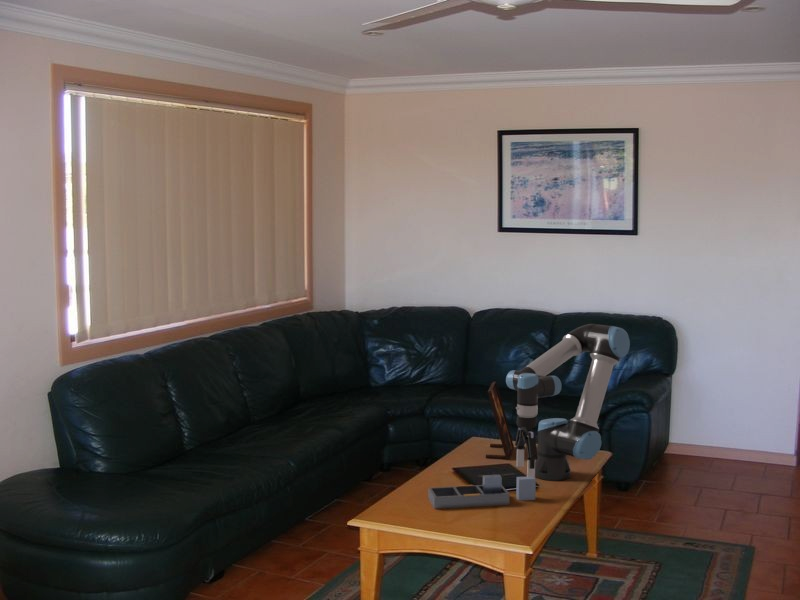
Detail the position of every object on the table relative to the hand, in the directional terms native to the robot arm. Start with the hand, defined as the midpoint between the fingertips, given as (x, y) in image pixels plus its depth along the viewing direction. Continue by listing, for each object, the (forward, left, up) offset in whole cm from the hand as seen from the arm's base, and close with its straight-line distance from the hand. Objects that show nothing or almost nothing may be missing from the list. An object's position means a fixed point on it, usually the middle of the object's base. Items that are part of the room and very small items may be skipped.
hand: (525, 471), depth 338 cm
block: (0, 0, -11) cm, 11 cm away
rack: (+22, 0, -11) cm, 24 cm away
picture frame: (-7, -61, -11) cm, 63 cm away
